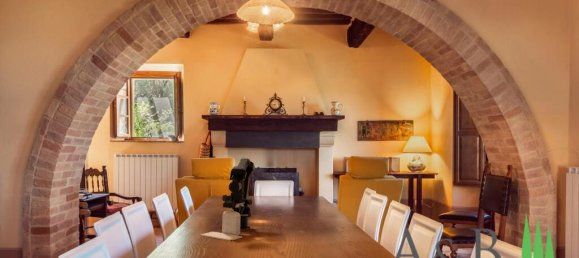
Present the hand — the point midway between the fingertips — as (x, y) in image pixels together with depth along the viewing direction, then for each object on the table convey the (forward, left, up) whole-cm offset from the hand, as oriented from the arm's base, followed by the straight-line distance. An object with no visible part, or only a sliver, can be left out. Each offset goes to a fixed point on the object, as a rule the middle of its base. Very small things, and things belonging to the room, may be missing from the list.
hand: (237, 219), depth 242 cm
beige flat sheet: (+13, 0, -7) cm, 15 cm away
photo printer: (+5, 0, -7) cm, 9 cm away
